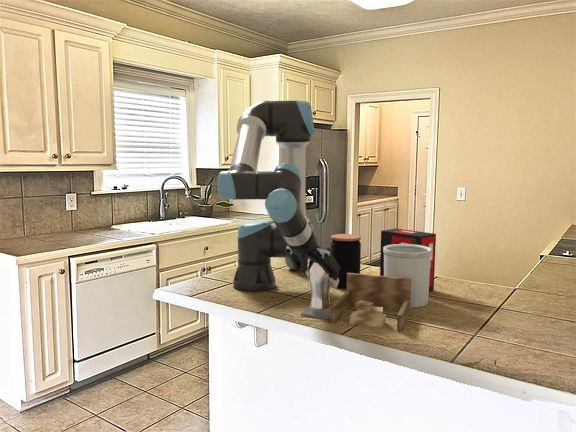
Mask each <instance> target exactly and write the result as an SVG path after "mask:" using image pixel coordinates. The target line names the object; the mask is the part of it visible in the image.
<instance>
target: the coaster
mask: <svg viewBox="0 0 576 432" xmlns="http://www.w3.org/2000/svg"><path fill="white" fill-rule="evenodd" d="M300 316H302V317H308V318H315V319H316V318H317V319H322V320H331V306H330V308H328V309H322V310H320V309H313V308H311V307H310V305H309V306H307V308H305V309H304V310H303V311H302V312H301V313H300Z"/></svg>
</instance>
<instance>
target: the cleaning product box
mask: <svg viewBox="0 0 576 432" xmlns="http://www.w3.org/2000/svg"><path fill="white" fill-rule="evenodd" d="M436 242H437V234H436V233H432V232H426V231H418V230H412V229H410V230H409V229H405V228H404V229H402V228H397V227H396V228H391V229H384V230H380V255H379V256H380V262H379V265H380V266H379V276H384V252H383V247H384V246H387V245H392V244H414V245H421V246H426V247H429V248H431V250H432V252H431V255H430V276H429V293H430V292H434V289H435V269H436V268H435V267H436V245H437V244H436Z"/></svg>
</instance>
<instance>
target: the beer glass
mask: <svg viewBox="0 0 576 432" xmlns="http://www.w3.org/2000/svg"><path fill="white" fill-rule="evenodd" d="M308 262H309V263H308V265H309V278H308V281H309V287H310V296H311V297H310V303H309V306H310V307H311V308H313V309H320V310H322V309H328V308H330V307H331V301H330V291H331V290H330V289H331V286H332V284H331V281H330V279H329V278H328V273H327V272H326V271H325V270H324V269H323V268H322V267H321V266H320V265H319V264H318V263H314V262H313V261H312V260H311V259H308Z"/></svg>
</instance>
